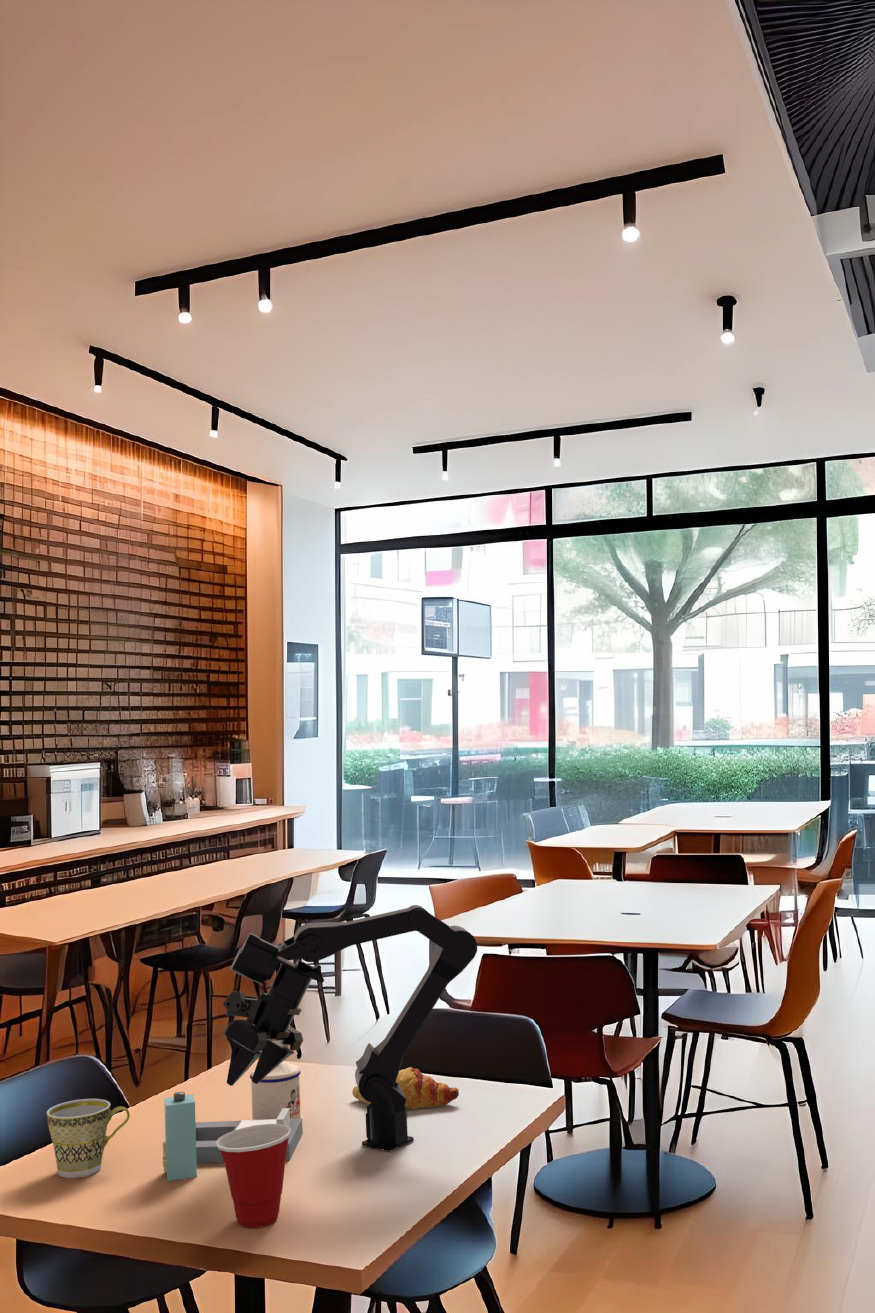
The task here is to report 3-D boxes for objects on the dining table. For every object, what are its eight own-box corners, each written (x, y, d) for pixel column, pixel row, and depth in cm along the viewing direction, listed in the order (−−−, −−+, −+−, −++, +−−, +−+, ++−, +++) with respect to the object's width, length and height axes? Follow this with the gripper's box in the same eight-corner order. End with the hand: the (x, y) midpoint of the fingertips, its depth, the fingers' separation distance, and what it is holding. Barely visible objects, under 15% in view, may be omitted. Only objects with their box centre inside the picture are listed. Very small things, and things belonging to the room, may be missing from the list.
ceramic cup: (45, 1186, 179) (44, 1121, 180) (49, 1165, 188) (48, 1103, 189) (130, 1174, 182) (129, 1110, 183) (130, 1154, 192) (129, 1093, 193)
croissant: (348, 1125, 213) (338, 1092, 210) (363, 1085, 222) (354, 1053, 219) (457, 1127, 207) (448, 1094, 204) (467, 1087, 216) (460, 1054, 213)
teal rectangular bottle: (194, 1167, 184) (192, 1088, 185) (196, 1176, 180) (194, 1095, 181) (162, 1172, 183) (161, 1092, 184) (164, 1181, 178) (162, 1099, 180)
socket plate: (302, 1133, 198) (302, 1118, 199) (289, 1160, 185) (289, 1144, 186) (194, 1137, 199) (194, 1122, 199) (174, 1163, 186) (174, 1148, 186)
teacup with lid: (297, 1130, 201) (294, 1062, 202) (246, 1131, 201) (244, 1063, 202) (308, 1108, 213) (306, 1044, 214) (260, 1110, 213) (258, 1046, 214)
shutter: (290, 1123, 196) (290, 1106, 196) (283, 1138, 189) (282, 1120, 189) (242, 1125, 196) (241, 1108, 197) (232, 1140, 189) (231, 1122, 189)
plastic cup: (236, 1203, 168) (233, 1119, 169) (305, 1206, 166) (302, 1122, 167) (204, 1234, 158) (202, 1145, 159) (277, 1238, 155) (274, 1147, 156)
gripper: (270, 976, 202) (229, 1059, 200) (221, 970, 185) (176, 1061, 183) (321, 1005, 198) (280, 1090, 195) (276, 1002, 181) (230, 1095, 179)
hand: (242, 1083), depth 188 cm, fingers open, 9 cm apart
